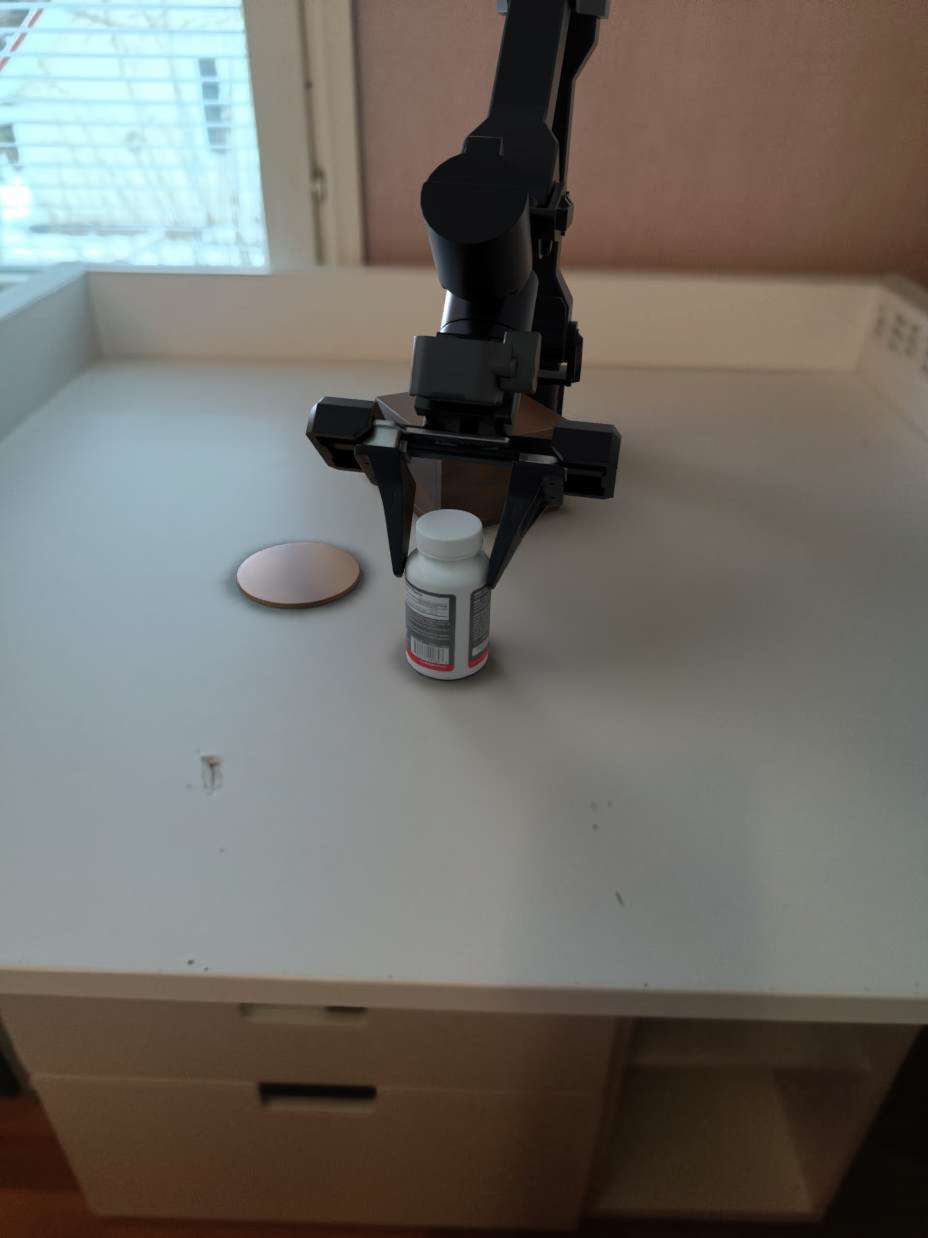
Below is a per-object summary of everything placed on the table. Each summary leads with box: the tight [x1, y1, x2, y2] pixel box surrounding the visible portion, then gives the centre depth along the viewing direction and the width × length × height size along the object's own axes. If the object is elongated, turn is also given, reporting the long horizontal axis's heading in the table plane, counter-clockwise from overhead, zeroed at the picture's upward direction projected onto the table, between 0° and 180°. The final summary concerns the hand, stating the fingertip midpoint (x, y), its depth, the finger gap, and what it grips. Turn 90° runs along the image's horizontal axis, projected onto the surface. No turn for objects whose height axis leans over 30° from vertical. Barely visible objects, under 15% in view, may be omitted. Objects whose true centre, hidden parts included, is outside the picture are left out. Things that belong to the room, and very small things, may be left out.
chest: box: [381, 410, 561, 528], centre depth 76 cm, size 12×13×7 cm
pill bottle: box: [403, 509, 492, 681], centre depth 54 cm, size 5×5×10 cm
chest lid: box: [374, 391, 569, 439], centre depth 74 cm, size 12×13×1 cm
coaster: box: [236, 541, 361, 609], centre depth 65 cm, size 9×9×1 cm
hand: (442, 581), depth 52 cm, fingers closed on pill bottle, 5 cm apart
